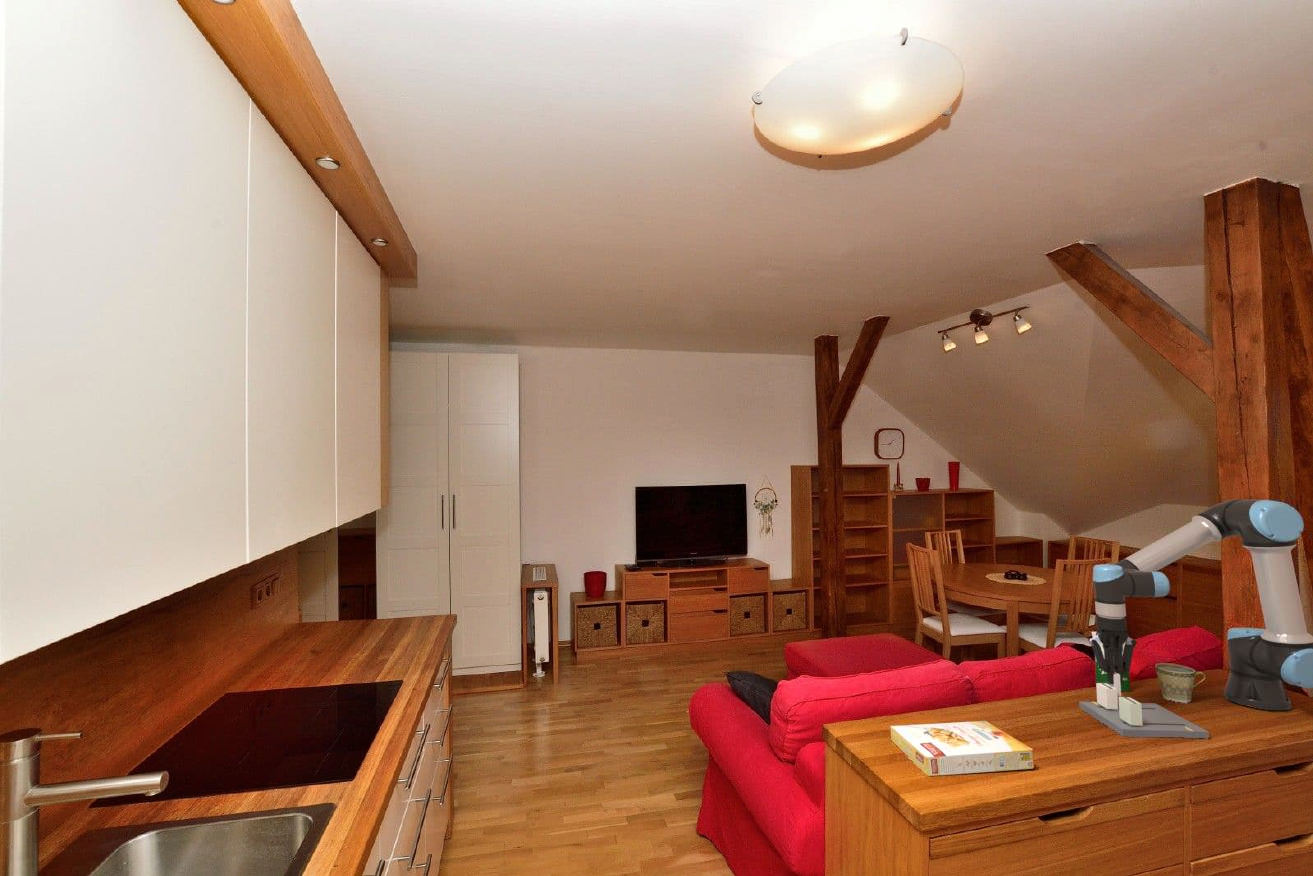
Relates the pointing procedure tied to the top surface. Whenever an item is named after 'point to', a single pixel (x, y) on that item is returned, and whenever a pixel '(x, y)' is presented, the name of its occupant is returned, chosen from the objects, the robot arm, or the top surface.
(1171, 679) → the ceramic cup
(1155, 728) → the console
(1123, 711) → the fader
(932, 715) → the top surface
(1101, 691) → the block
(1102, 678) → the milk carton
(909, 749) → the cereal box
